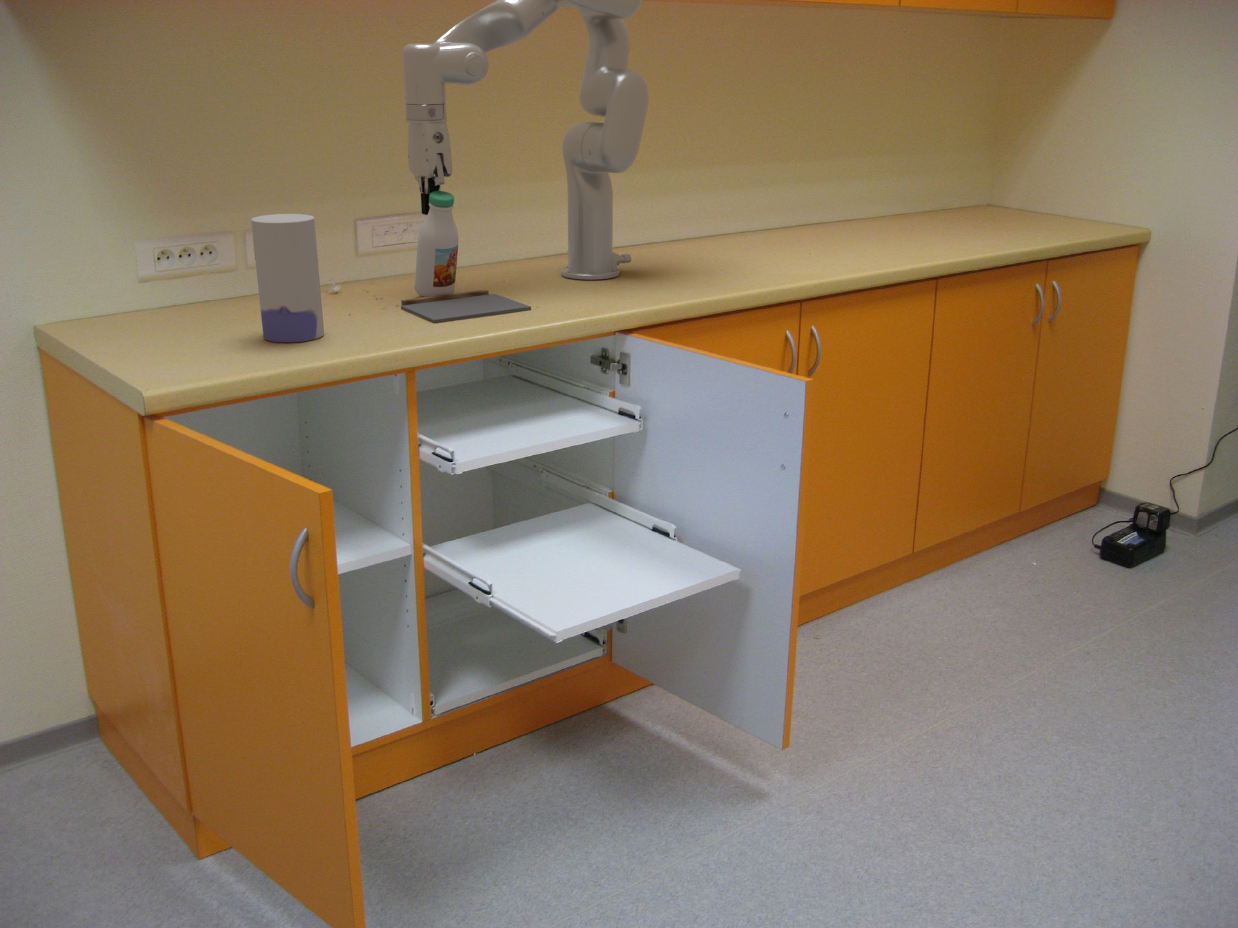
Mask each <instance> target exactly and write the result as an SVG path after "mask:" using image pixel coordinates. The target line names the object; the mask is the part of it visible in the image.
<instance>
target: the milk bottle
mask: <svg viewBox="0 0 1238 928" xmlns="http://www.w3.org/2000/svg"><path fill="white" fill-rule="evenodd" d="M454 205H455V196H454V194H452V193H450V192H448V191H445V190H444V191H442V190H441V191H434V192H432V193H430V196H429V206H430V209H429V212H428V215H426V217H425V219H424V220H423V222H422V224H421V226H420V229H419V232H418V241H417V248H416V262H415V263H416V264H415V275H414V276H415V277H414V290H415V292H416V293H417V294H418V295H419V296H421V297H422V298H423V297H431V296H439V295H447V294H455V287H456V276H457V275H456V274H457V266H458V255H459V254H458V252H459V232H458V228H457V225H456V223H455V220H454V216H453V209H454Z"/></svg>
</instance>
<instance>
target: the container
mask: <svg viewBox="0 0 1238 928" xmlns="http://www.w3.org/2000/svg"><path fill="white" fill-rule="evenodd" d="M250 221H251V230H252V240H253V251H254V259H255V268H256V269H255V270H256V279H257V290H258V297H259V299H258V300H259V307H260V317H261V326H262V335H263V336H262V337H263V339H265V340H267V341H268V342H269V341H270V342H275V343H298V342H299V343H300V342H306V341H307V342H308V341H313V340H316V339H319V338H321V337H323V336H324V335H325V329H324V328H325V327H324V315H323V314H324V313H323V304H322V294H321V293H322V292H321V281H320V279H321V278H320V269H319V257H318V248H317V247H318V245H317V243H318V242H317V235H316V223H315V222H316V221H315V216H313V215H311V214H310V215H309V214H303V213H302V214H301V213H276V214H274V213H273V214H265V215H260V216H259V215H258V216H255V217H252V218H251V220H250Z"/></svg>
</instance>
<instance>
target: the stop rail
mask: <svg viewBox="0 0 1238 928" xmlns="http://www.w3.org/2000/svg"><path fill="white" fill-rule="evenodd" d="M489 293H490V292H489V290H487V289H481V290H474V291H473V290H472V291H463V292H456V293H455V292H454V293H453V294H447V295H439V296H431V297H423V296H422V297H416V298H409V299H401V306H403V305H411V304H419V303H427V302H434V301H442V300H450V299H458V298H466V297H473V296H481V295H489Z"/></svg>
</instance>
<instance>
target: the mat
mask: <svg viewBox="0 0 1238 928" xmlns="http://www.w3.org/2000/svg"><path fill="white" fill-rule="evenodd" d="M400 310H402V311H405V312H407V313H409V314H412V315H414V316H417V317H419V318H421V319H423V320H426V321H428V322H430V323H433V324H439V323H446V322H453V321H460V320H466V319H475V318H482V317H483V318H484V317H488V316H497V315H503V314H504V315H505V314H510V313H518V312H524V311H525V312H527V311H531V310H532V306H530V305H527V304H524V303H522V302H519V301H517V300H513V299H510V298H508V297H505V296H503V295H501V294H500V295H499V294H497V293H490V294H489V295H481V296H473V297H466V298H458V299H450V300H442V301H434V302H427V303H419V304H411V305H403V306H402V305H400Z"/></svg>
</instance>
